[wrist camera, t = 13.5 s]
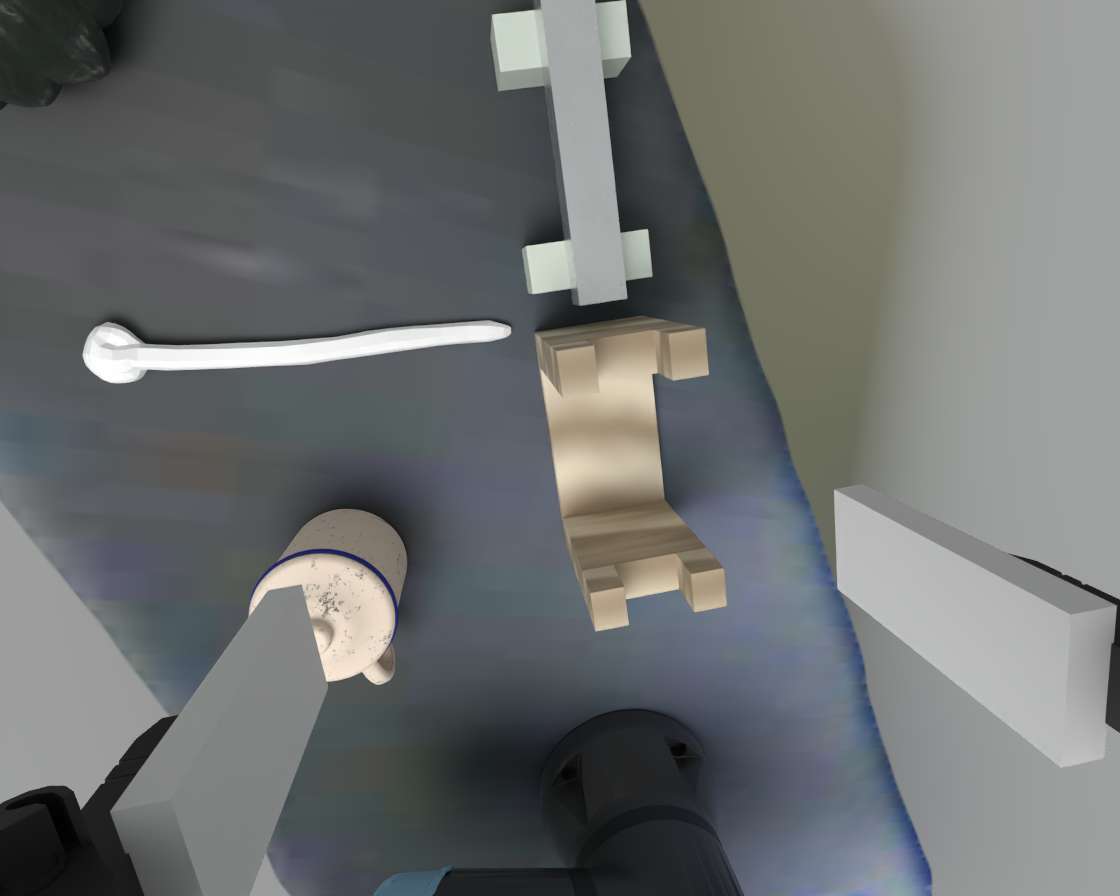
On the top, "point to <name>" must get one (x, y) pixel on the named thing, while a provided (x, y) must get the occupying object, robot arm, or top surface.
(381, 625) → the teacup with lid
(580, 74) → the rail
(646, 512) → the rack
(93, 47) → the squash
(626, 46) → the rest
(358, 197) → the top surface
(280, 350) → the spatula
